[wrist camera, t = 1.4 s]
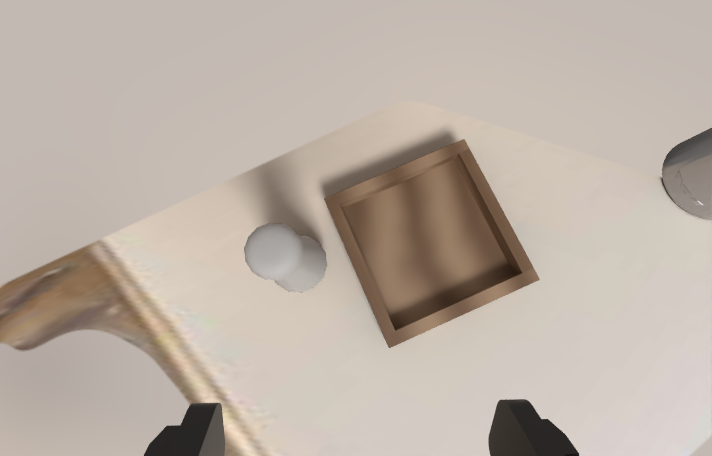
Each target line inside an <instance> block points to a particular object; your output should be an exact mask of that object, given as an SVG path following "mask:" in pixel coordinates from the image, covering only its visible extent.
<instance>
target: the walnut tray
mask: <svg viewBox="0 0 712 456" xmlns="http://www.w3.org/2000/svg"><path fill="white" fill-rule="evenodd" d="M324 200H325V202H326V204H327V207H328V209H329V211H330V214H331V216H332V218H333V220H334V223H335V225H336V227H337V230H338V232H339V234H340V237H341V239H342V241H343V243H344V246H345V248H346V250H347V253H348V255H349V257H350V260H351V262H352V264H353V267H354V269H355V271H356V273H357V276H358V278H359V280H360V283H361V285H362V287H363V290H364V292H365V294H366V296H367V299H368V301H369V303H370V306H371V308H372V310H373V313H374V315H375V317H376V319H377V322H378V324H379V326H380V329H381V331H382V333H383V336H384V338H385V340H386V343H387V345H388V347H389V348H391V347H393V346H395V345H397V344H399V343H402V342H404V341H406V340H408V339H410V338H413V337H415V336H417V335H419V334H421V333H424V332H426V331H428V330H430V329H432V328H435V327H437V326H439V325H441V324H443V323H446V322H448V321H450V320H452V319H454V318H457V317H459V316H461V315H463V314H465V313H468V312H470V311H472V310H474V309H476V308H479V307H481V306H483V305H485V304H487V303H490V302H492V301H494V300H496V299H498V298H500V297H503V296H505V295H507V294H509V293H511V292H514V291H516V290H518V289H520V288H522V287H525V286H527V285H529V284H531V283H533V282H536V281H538V280H540V279H539V277H538V275H537V273H536V272H535V270H534V268H533V266H532V264H531V262H530V260H529V258H528V257H527V255H526V253H525V251H524V249H523V247H522V245H521V244H520V242H519V240H518V238H517V236H516V234H515V232H514V231H513V229H512V227H511V225H510V223H509V221H508V219H507V218H506V216H505V214H504V212H503V210H502V208H501V206H500V205H499V203H498V201H497V199H496V197H495V195H494V193H493V192H492V190H491V188H490V186H489V184H488V182H487V180H486V179H485V177H484V175H483V173H482V171H481V169H480V167H479V166H478V164H477V162H476V160H475V158H474V156H473V154H472V153H471V151H470V149H469V147H468V145H467V143H466V141H465V139H463V140H461V141H458V142H456V143H454V144H451V145H449V146H447V147H444V148H442V149H439V150H437V151H435V152H432V153H430V154H428V155H425V156H423V157H421V158H418V159H416V160H414V161H411V162H409V163H407V164H404V165H402V166H400V167H397V168H395V169H393V170H390V171H388V172H386V173H383V174H381V175H379V176H376V177H374V178H372V179H369V180H367V181H364V182H362V183H360V184H357V185H355V186H353V187H350V188H348V189H346V190H343V191H341V192H339V193H336V194H334V195H332V196H329V197H327V198H325V199H324Z"/></svg>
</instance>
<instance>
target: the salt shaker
mask: <svg viewBox="0 0 712 456" xmlns="http://www.w3.org/2000/svg"><path fill="white" fill-rule="evenodd" d="M244 252H245V261H246V262H247V264H248V266H249V267H250V269H251V271H252V272H253V273H254V274H256V275H258V276H259V277H261V278H263V279H265V280H274V281H275V282H276V283H277V285H279V286H280V287H282V288H284V289H285V290H287V291H289V292H301V293H302V292H304V291H307V290H309V289H312V288H314V287H315V286H316V285H317V284H318V283H319V282H320V281H321V280H322V279H323V277H324V274H325V270H326V267H327V262H326V253H325V251H324V250H323V248H322V247H321V246H320V244H319V243H318V242H317V241H315V240H314V239H312V238H310V237H309V236H301V235H297V234H296V232H295V231H294V230H293V229H291V228H289V227H288V226H286V225H284V224H274V223H268V224H266V225H263V226H260V227H258V228H256V230H255V231H254V232H253V233H252V234H251V235H250V236H249V237H248V240H247V242H246V245H245V248H244Z"/></svg>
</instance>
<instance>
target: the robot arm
mask: <svg viewBox="0 0 712 456" xmlns="http://www.w3.org/2000/svg"><path fill="white" fill-rule="evenodd" d="M662 174H663V181H664V185H665V188H666V190H667V192H668V194H669V195H670V197H671V198H672V199H673V200H674V202H675V203H676V204H677V205H679V206H680V207H681V208H682V209H683V210H685V211H687V212H688V213H690V214H692V215H694V216H697V217H700V218H704V219H712V128H710V129H708V130H706V131H704V132H702V133H700V134H698V135H696V136H694V137H692V138H690V139H688V140H686V141H684V142H682V143H680V144H678V145H677V146H675V147H674V148H673V149H672V150H671V151H670V152H669V153H668V154H667V156H666V159H665V160H664V163H663V169H662ZM489 450H490V455H491V456H579V453H578V452H577V450H576V449H575V447H574V446H573V445H572V443H571V442H570V440H569V439H568V437H567V436H566V435H565V434H564V433H563V432H562V431H561V430H560V429H558V428H557V427H556V426H555V425H554V424H553V423H552V422H551V421H549V420H548V419H541V418H540V416H539V415H538V413H537V412H536V410H535V409H534V407H533V406H532V405H531V403H530V402H529V401H527V400H525V399H520V400H500V401H499V402H498V404H497V407H496V411H495V415H494V419H493V422H492V426H491V430H490V434H489ZM224 451H225V438H224V427H223V416H222V406H221V404H220V403H192V404H191V405H190V406H189V408H188V410H187V412H186V415H185V417H184V419H183V421H182V423H181V426H166V427H165V428H164V430H163V431H162V432H161V433H160V434H159V435H158V436H157V437H156V438H155V439H154V440H153V441H152V442H151V443H150V444H149V446H148V448H147V450H146V452H145V454H144V456H224Z"/></svg>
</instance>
